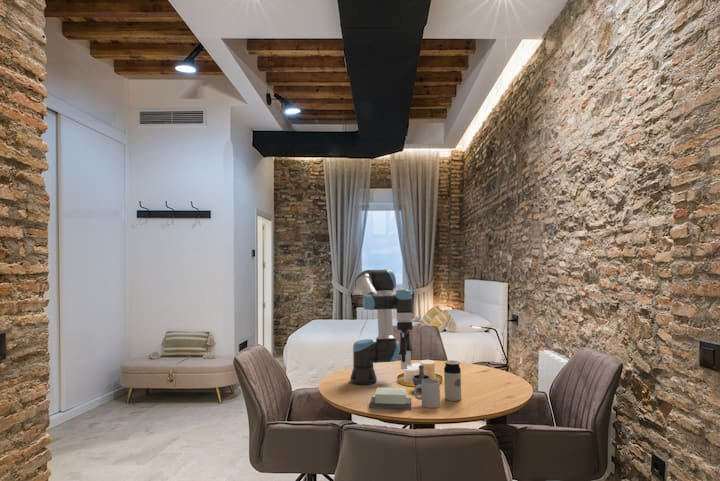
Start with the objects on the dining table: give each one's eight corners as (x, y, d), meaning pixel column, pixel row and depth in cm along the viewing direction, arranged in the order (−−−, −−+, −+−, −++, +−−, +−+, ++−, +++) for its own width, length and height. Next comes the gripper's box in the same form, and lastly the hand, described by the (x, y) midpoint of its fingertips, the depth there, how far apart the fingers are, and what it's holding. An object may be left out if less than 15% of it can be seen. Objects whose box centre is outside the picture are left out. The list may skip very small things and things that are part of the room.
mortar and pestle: (431, 393, 210) (430, 369, 211) (412, 392, 211) (412, 369, 212) (430, 387, 221) (429, 364, 222) (413, 386, 223) (412, 364, 223)
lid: (377, 395, 198) (377, 387, 198) (406, 396, 196) (405, 388, 197) (375, 403, 187) (375, 394, 188) (405, 404, 185) (405, 395, 186)
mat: (371, 401, 197) (371, 396, 197) (411, 403, 194) (411, 397, 195) (370, 407, 189) (370, 401, 189) (411, 408, 186) (411, 403, 187)
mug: (438, 402, 196) (437, 379, 196) (441, 408, 187) (441, 383, 188) (413, 402, 196) (413, 379, 196) (415, 408, 187) (415, 384, 188)
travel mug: (442, 397, 203) (441, 360, 205) (456, 395, 206) (455, 359, 207) (449, 402, 196) (448, 364, 197) (464, 400, 198) (463, 362, 199)
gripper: (408, 322, 184) (410, 371, 181) (415, 320, 208) (417, 362, 205) (392, 323, 186) (394, 370, 183) (400, 320, 210) (402, 362, 207)
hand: (406, 366), depth 194 cm, fingers open, 13 cm apart
